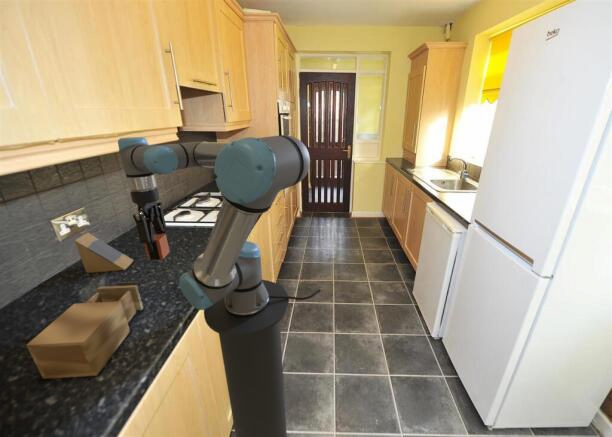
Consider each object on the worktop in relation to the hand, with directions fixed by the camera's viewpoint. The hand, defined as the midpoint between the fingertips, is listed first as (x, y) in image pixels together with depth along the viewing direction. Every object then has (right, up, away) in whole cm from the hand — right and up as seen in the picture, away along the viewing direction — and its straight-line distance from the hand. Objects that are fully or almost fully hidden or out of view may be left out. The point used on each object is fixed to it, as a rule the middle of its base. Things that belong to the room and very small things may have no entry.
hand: (159, 254), depth 91 cm
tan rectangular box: (-8, -24, -19) cm, 32 cm away
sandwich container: (-34, -8, +24) cm, 42 cm away
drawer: (-9, -19, -7) cm, 22 cm away
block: (0, 0, 0) cm, 0 cm away
